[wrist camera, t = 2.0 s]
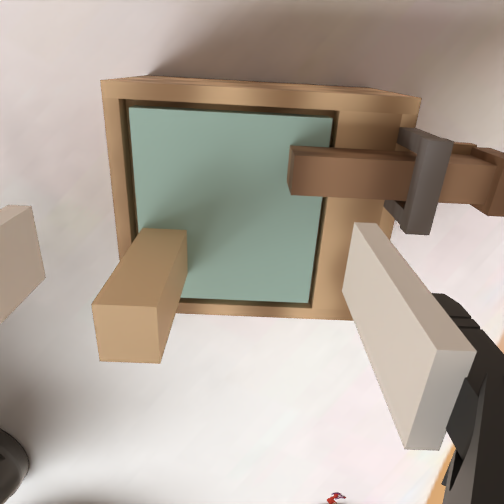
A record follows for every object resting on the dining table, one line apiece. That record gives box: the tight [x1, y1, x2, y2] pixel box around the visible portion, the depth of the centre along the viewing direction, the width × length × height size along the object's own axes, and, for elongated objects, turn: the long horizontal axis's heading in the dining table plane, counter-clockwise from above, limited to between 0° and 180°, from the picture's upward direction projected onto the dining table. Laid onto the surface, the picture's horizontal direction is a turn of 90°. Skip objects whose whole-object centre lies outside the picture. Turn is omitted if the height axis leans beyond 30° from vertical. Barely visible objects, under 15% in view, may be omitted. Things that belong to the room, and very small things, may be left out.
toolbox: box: [100, 75, 477, 321], centre depth 31 cm, size 24×17×17 cm
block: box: [287, 145, 504, 217], centre depth 25 cm, size 13×3×4 cm, turn 87°
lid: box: [91, 105, 333, 364], centre depth 24 cm, size 13×14×12 cm
